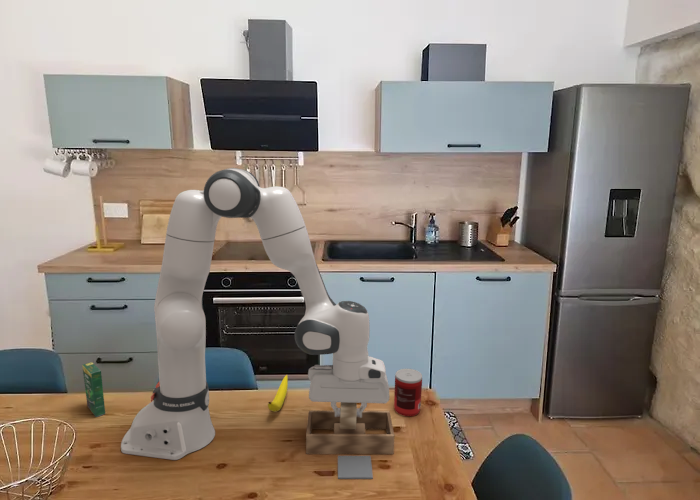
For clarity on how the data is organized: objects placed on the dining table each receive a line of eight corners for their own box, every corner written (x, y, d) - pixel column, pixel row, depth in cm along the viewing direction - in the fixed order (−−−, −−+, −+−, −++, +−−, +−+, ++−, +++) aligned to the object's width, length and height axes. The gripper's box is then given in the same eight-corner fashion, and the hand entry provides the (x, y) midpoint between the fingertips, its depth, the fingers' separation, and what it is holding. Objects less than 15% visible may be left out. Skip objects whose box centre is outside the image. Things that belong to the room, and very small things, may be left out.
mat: (337, 478, 114) (337, 477, 114) (337, 457, 122) (337, 455, 122) (372, 478, 115) (372, 477, 115) (370, 457, 122) (370, 455, 122)
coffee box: (86, 406, 143) (81, 363, 140) (96, 402, 145) (92, 360, 142) (94, 417, 137) (90, 373, 134) (106, 414, 139) (101, 370, 136)
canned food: (413, 400, 149) (414, 366, 147) (425, 414, 142) (427, 379, 139) (389, 404, 147) (390, 370, 144) (400, 419, 139) (402, 382, 137)
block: (340, 428, 126) (340, 407, 124) (340, 420, 130) (340, 398, 128) (355, 429, 126) (356, 407, 125) (355, 420, 130) (356, 399, 128)
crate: (306, 454, 123) (306, 435, 122) (308, 427, 134) (308, 410, 133) (393, 454, 124) (394, 436, 123) (388, 427, 135) (389, 410, 134)
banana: (291, 389, 154) (291, 370, 153) (275, 424, 136) (275, 402, 134) (282, 389, 155) (282, 370, 153) (264, 423, 136) (264, 401, 135)
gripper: (307, 370, 121) (306, 422, 124) (391, 372, 121) (388, 424, 124) (309, 359, 127) (308, 408, 130) (389, 361, 128) (386, 410, 131)
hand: (348, 416), depth 127 cm, fingers closed on block, 4 cm apart
